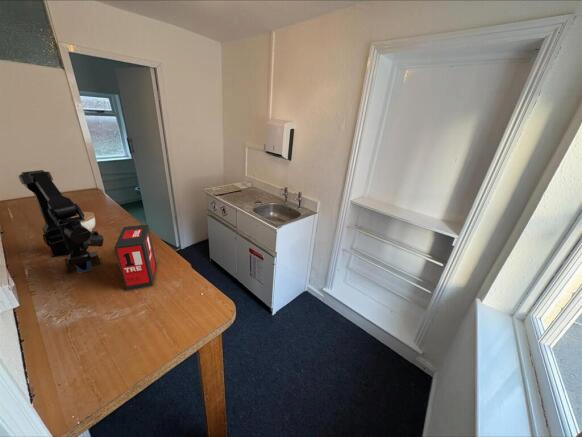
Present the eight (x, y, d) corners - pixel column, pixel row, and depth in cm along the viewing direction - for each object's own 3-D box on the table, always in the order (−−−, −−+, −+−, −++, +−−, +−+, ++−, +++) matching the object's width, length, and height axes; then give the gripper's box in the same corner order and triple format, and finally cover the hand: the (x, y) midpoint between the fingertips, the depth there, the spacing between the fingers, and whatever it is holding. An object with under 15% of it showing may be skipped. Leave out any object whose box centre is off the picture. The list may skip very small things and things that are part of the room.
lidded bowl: (69, 238, 121) (62, 219, 116) (68, 229, 129) (62, 211, 125) (99, 232, 129) (94, 214, 124) (97, 224, 137) (92, 206, 132)
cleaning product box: (152, 285, 95) (143, 243, 86) (126, 290, 91) (114, 247, 83) (156, 262, 108) (148, 224, 100) (133, 266, 105) (123, 227, 97)
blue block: (78, 273, 93) (75, 264, 91) (77, 268, 96) (74, 259, 94) (92, 269, 96) (89, 260, 94) (91, 264, 99) (88, 255, 97)
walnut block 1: (68, 272, 98) (64, 263, 96) (67, 267, 101) (64, 258, 99) (81, 268, 101) (78, 260, 99) (81, 263, 104) (78, 255, 102)
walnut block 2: (88, 266, 102) (85, 258, 100) (87, 262, 105) (84, 253, 103) (100, 263, 105) (97, 255, 103) (99, 258, 108) (96, 250, 106)
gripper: (101, 237, 88) (112, 270, 95) (96, 220, 100) (105, 250, 107) (61, 246, 81) (75, 281, 88) (61, 226, 93) (73, 258, 100)
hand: (84, 266), depth 96 cm, fingers closed on blue block, 4 cm apart
